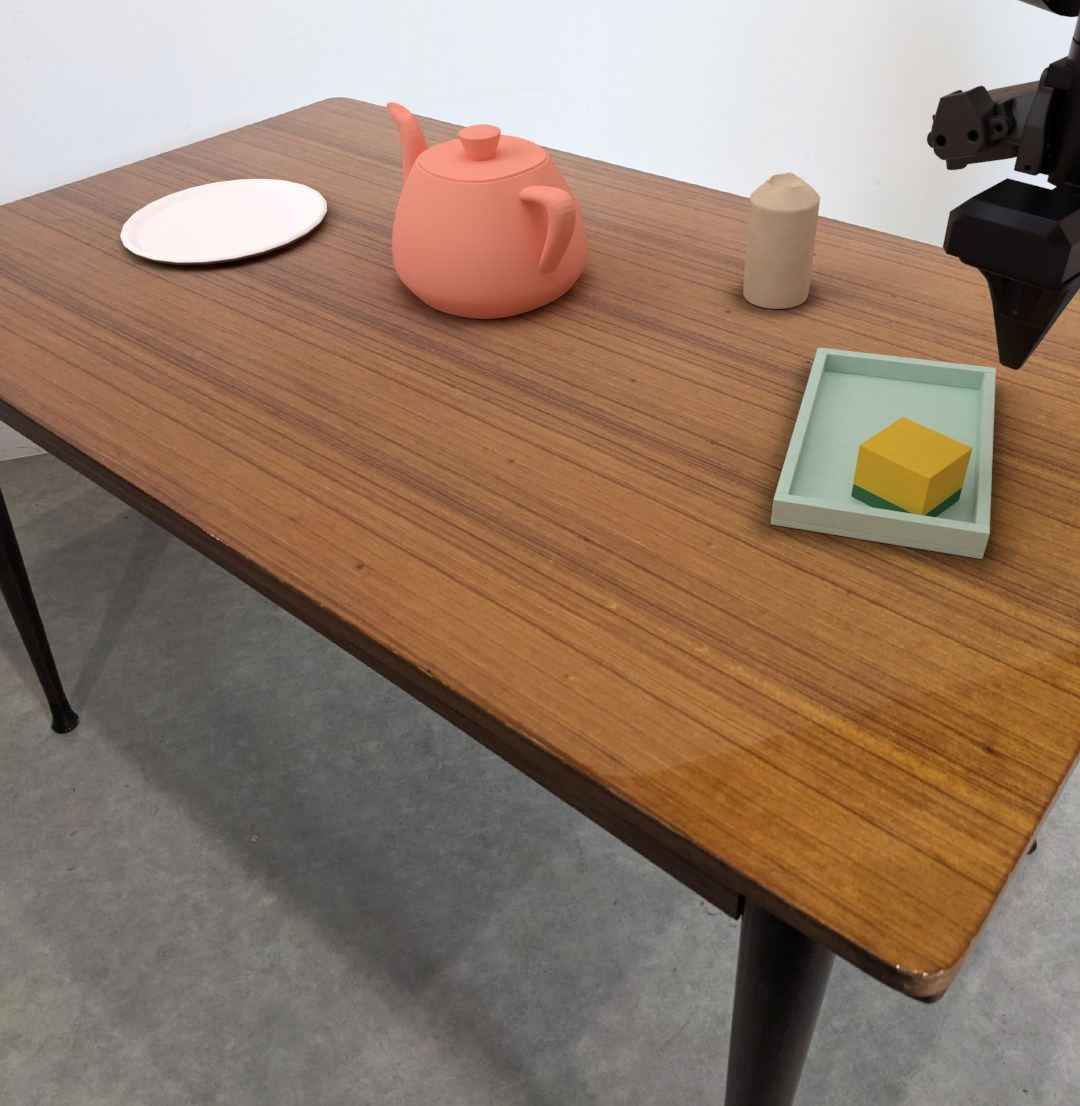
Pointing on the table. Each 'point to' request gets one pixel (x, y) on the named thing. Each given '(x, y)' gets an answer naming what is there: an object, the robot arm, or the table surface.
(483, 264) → the teapot
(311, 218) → the plate
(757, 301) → the candle
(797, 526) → the tray
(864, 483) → the sponge
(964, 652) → the table surface
